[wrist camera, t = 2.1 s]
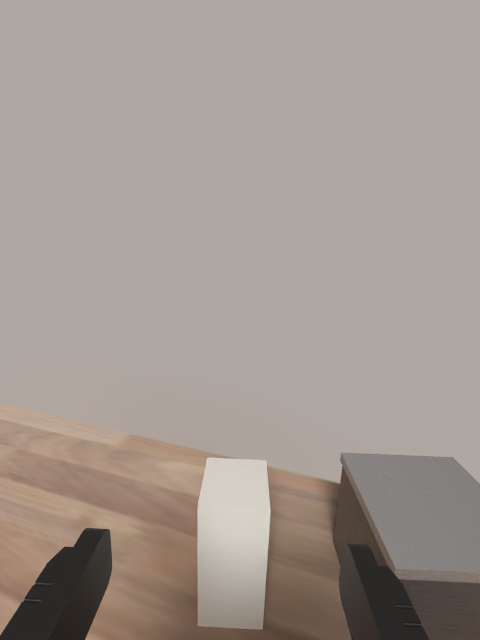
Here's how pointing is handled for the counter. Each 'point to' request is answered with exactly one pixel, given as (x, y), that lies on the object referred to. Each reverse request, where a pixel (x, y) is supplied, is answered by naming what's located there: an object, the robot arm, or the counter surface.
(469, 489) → the block
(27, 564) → the counter surface
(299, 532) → the counter surface
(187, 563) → the counter surface
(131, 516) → the counter surface
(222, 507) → the cream block
